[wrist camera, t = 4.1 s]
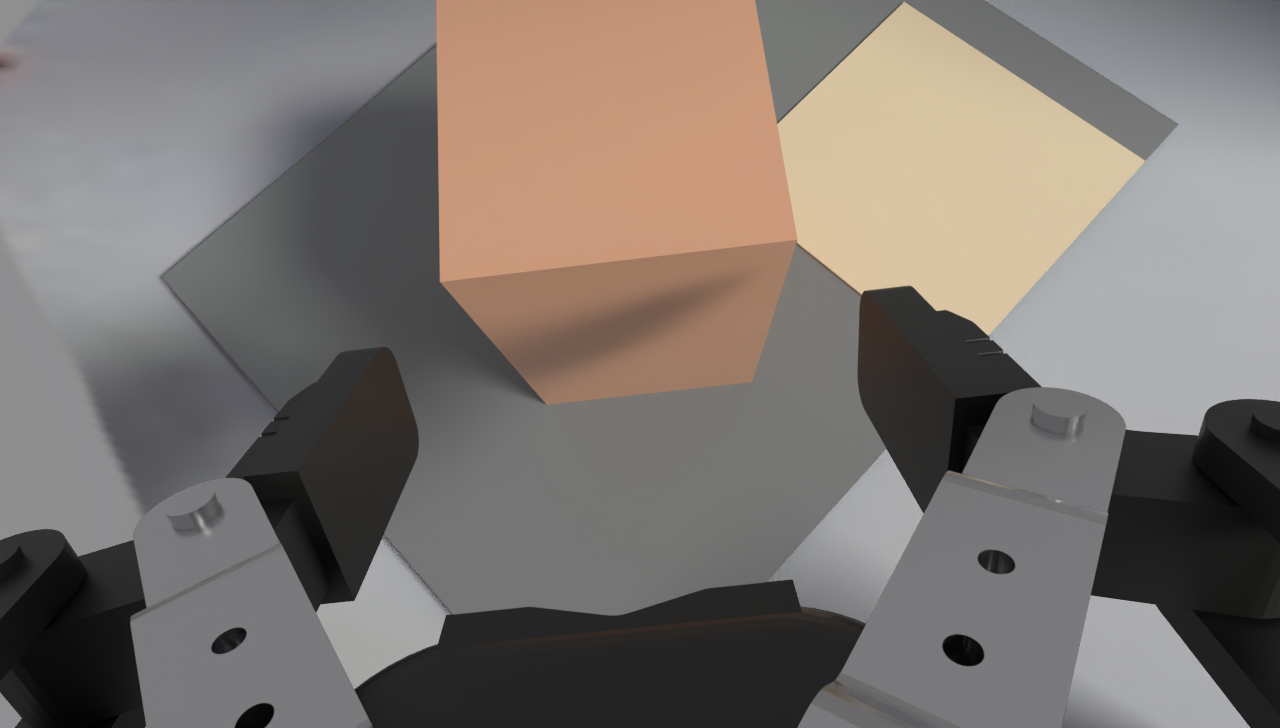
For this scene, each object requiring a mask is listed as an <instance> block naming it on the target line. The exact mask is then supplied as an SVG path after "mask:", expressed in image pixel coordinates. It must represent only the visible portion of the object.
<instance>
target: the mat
mask: <svg viewBox="0 0 1280 728" xmlns="http://www.w3.org/2000/svg"><path fill="white" fill-rule="evenodd" d="M755 3H756V8H757V14H758V20H759V25H760V31H761V36H762V42H763V48H764V53H765V59H766V65H767V70H768V76H769V81H770V87H771V93H772V98H773V104H774V110H775V115H776V121H777V126H778V132H779V138H780V143H781V149H782V155H783V160H784V166H785V172H786V177H787V183H788V188H789V194H790V200H791V205H792V211H793V217H794V222H795V228H796V233H797V239H798V240H797V243H796V246H795V249H794V253H793V256H792V259H791V262H790V265H789V268H788V271H787V274H786V277H785V281H784V284H783V287H782V290H781V293H780V296H779V299H778V302H777V306H776V309H775V312H774V315H773V318H772V321H771V324H770V327H769V331H768V334H767V337H766V340H765V343H764V346H763V349H762V352H761V356H760V359H759V362H758V365H757V368H756V371H755V374H754V377H753V381H752V382H749V383H740V384H731V385H722V386H713V387H704V388H695V389H686V390H677V391H667V392H658V393H649V394H640V395H631V396H622V397H613V398H604V399H595V400H586V401H577V402H568V403H559V404H550V405H547V404H546V403H545V402H544V401H543V400H542V399H541V398H540V396H539V395H538V394H537V393H536V392H535V391H534V389H533V388H532V387H531V386H530V385H529V384H528V383H527V381H526V380H525V379H524V378H523V377H522V376H521V375H520V373H519V372H518V371H517V370H516V369H515V368H514V366H513V365H512V364H511V363H510V362H509V361H508V360H507V358H506V357H505V356H504V355H503V354H502V353H501V352H500V350H499V349H498V348H497V347H496V346H495V345H494V343H493V342H492V341H491V340H490V339H489V338H488V337H487V335H486V334H485V333H484V332H483V331H482V330H481V329H480V327H479V326H478V325H477V324H476V323H475V322H474V320H473V319H472V318H471V317H470V316H469V315H468V314H467V312H466V311H465V310H464V309H463V308H462V307H461V306H460V304H459V303H458V302H457V301H456V300H455V299H454V297H453V296H452V295H451V294H450V293H449V292H448V291H447V289H446V288H445V287H444V286H443V285H442V284H441V283H440V247H439V174H438V101H437V46H435V47H434V48H433V49H432V50H431V51H429V52H428V53H427V54H426V55H425V56H423V57H422V58H421V59H420V60H419V61H418V62H416V63H415V64H414V65H413V66H412V67H410V68H409V69H408V70H407V71H406V72H404V73H403V74H402V75H401V76H400V77H399V78H397V79H396V80H395V81H394V82H393V83H391V84H390V85H389V86H388V87H387V88H385V89H384V90H383V91H382V92H381V93H380V94H378V95H377V96H376V97H375V98H374V99H372V100H371V101H370V102H369V103H368V104H366V105H365V106H364V107H363V108H362V109H361V110H359V111H358V112H357V113H356V114H355V115H353V116H352V117H351V118H350V119H349V120H347V121H346V122H345V123H344V124H343V125H342V126H340V127H339V128H338V129H337V130H336V131H334V132H333V133H332V134H331V135H330V136H328V137H327V138H326V139H325V140H324V141H323V142H321V143H320V144H319V145H318V146H317V147H315V148H314V149H313V150H312V151H311V152H309V153H308V154H307V155H306V156H305V157H304V158H302V159H301V160H300V161H299V162H298V163H296V164H295V165H294V166H293V167H292V168H290V169H289V170H288V171H287V172H286V173H285V174H283V175H282V176H281V177H280V178H279V179H277V180H276V181H275V182H274V183H273V184H271V185H270V186H269V187H268V188H267V189H266V190H264V191H263V192H262V193H261V194H260V195H258V196H257V197H256V198H255V199H254V200H252V201H251V202H250V203H249V204H248V205H247V206H245V207H244V208H243V209H242V210H241V211H239V212H238V213H237V214H236V215H235V216H233V217H232V218H231V219H230V220H229V221H228V222H226V223H225V224H224V225H223V226H222V227H220V228H219V229H218V230H217V231H216V232H215V233H213V234H212V235H211V236H210V237H209V238H207V239H206V240H205V241H204V242H203V243H201V244H200V245H199V246H198V247H197V248H196V249H194V250H193V251H192V252H191V253H190V254H188V255H187V256H186V257H185V258H184V259H182V260H181V261H180V262H179V263H178V264H177V265H175V266H174V267H173V268H172V269H171V270H169V271H168V272H167V273H166V274H165V275H163V276H162V278H163V279H164V281H165V282H166V283H167V284H168V285H169V286H170V287H171V289H172V290H173V291H174V292H175V293H176V294H177V296H178V297H179V298H180V299H181V300H182V301H183V302H184V304H185V305H186V306H187V307H188V308H189V309H190V311H191V312H192V313H193V314H194V315H195V316H196V318H197V319H198V320H199V321H200V322H201V323H202V324H203V326H204V327H205V328H206V329H207V330H208V331H209V333H210V334H211V335H212V336H213V337H214V338H215V340H216V341H217V342H218V343H219V344H220V345H221V346H222V348H223V349H224V350H225V351H226V352H227V353H228V355H229V356H230V357H231V358H232V359H233V360H234V361H235V363H236V364H237V365H238V366H239V367H240V368H241V370H242V371H243V372H244V373H245V374H246V375H247V377H248V378H249V379H250V380H251V381H252V382H253V383H254V385H255V386H256V387H257V388H258V389H259V390H260V392H261V393H262V394H263V395H264V396H265V397H266V399H267V400H268V401H269V402H270V403H271V404H272V405H273V407H274V408H275V409H276V410H277V411H278V412H279V411H280V410H281V409H282V408H283V407H284V405H285V404H286V403H287V402H288V400H289V399H291V398H292V397H294V396H295V395H297V394H298V393H300V392H301V391H302V390H304V389H305V388H307V387H308V386H310V385H311V384H313V383H315V382H317V381H318V380H319V378H320V377H321V376H322V375H323V373H324V372H325V371H326V369H327V368H328V367H329V366H330V364H331V363H332V362H333V360H334V359H335V358H336V357H337V355H338V354H339V353H340V352H343V351H351V350H360V349H368V348H376V347H387V348H389V349H390V350H391V351H392V353H393V355H394V357H395V359H396V362H397V365H398V368H399V371H400V374H401V377H402V380H403V383H404V386H405V389H406V392H407V396H408V399H409V402H410V405H411V408H412V411H413V414H414V417H415V420H416V424H417V428H418V434H419V450H418V456H417V459H416V462H415V464H414V466H413V468H412V471H411V473H410V475H409V478H408V480H407V482H406V484H405V487H404V489H403V491H402V493H401V496H400V498H399V500H398V503H397V505H396V507H395V509H394V512H393V514H392V516H391V519H390V521H389V523H388V525H387V528H386V530H385V532H384V535H385V536H386V537H387V539H388V540H389V541H390V542H391V543H392V544H393V545H394V547H395V548H396V549H397V550H398V551H399V552H400V554H401V555H402V556H403V557H404V558H405V559H406V561H407V562H408V563H409V564H410V565H411V566H412V567H413V569H414V570H415V571H416V572H417V573H418V574H419V576H420V577H421V578H422V579H423V580H424V581H425V583H426V584H427V585H428V586H429V587H430V588H431V589H432V591H433V592H434V593H435V594H436V595H437V596H438V598H439V599H440V600H441V601H442V602H443V603H444V604H445V606H446V607H447V608H448V609H449V610H450V611H451V613H452V614H453V615H454V614H463V613H473V612H483V611H492V610H502V609H512V608H522V607H538V608H547V609H556V610H565V611H574V612H583V613H592V614H600V615H612V616H615V615H623V614H627V613H630V612H633V611H636V610H640V609H643V608H646V607H649V606H652V605H655V604H659V603H662V602H665V601H668V600H671V599H674V598H678V597H681V596H684V595H687V594H690V593H693V592H697V591H700V590H703V589H706V588H716V587H725V586H735V585H745V584H755V583H764V582H767V580H768V579H769V578H770V577H771V576H772V575H773V574H774V573H775V572H776V570H777V569H778V568H779V567H780V566H781V565H782V564H783V563H784V562H785V561H786V559H787V558H788V557H789V556H790V555H791V554H792V553H793V552H794V551H795V549H796V548H797V547H798V546H799V545H800V544H801V543H802V542H803V541H804V539H805V538H806V537H807V536H808V535H809V534H810V533H811V532H812V531H813V529H814V528H815V527H816V526H817V525H818V524H819V523H820V522H821V521H822V519H823V518H824V517H825V516H826V515H827V514H828V513H829V512H830V511H831V509H832V508H833V507H834V506H835V505H836V504H837V503H838V502H839V501H840V499H841V498H842V497H843V496H844V495H845V494H846V493H847V492H848V491H849V489H850V488H851V487H852V486H853V485H854V484H855V483H856V482H857V481H858V479H859V478H860V477H861V476H862V475H863V474H864V473H865V472H866V471H867V469H868V468H869V467H870V466H871V465H872V464H873V463H874V462H875V461H876V459H877V458H878V457H879V456H880V455H881V454H882V453H883V452H884V451H885V449H886V447H885V445H884V443H883V442H882V440H881V438H880V436H879V435H878V433H877V431H876V429H875V428H874V426H873V424H872V422H871V421H870V419H869V417H868V415H867V414H866V412H865V410H864V408H863V405H862V402H861V398H860V394H859V388H858V377H857V371H858V339H859V308H860V299H861V296H862V293H863V292H864V291H867V290H875V289H883V288H892V287H900V286H909V285H910V286H912V287H913V288H914V289H915V290H916V291H917V292H918V293H919V294H920V295H921V296H922V297H923V298H924V299H925V300H926V301H927V302H928V303H929V304H930V305H931V306H932V307H933V308H934V309H935V310H936V311H941V310H948V311H950V312H952V313H955V314H957V315H959V316H961V317H964V318H966V319H968V320H970V321H973V322H974V323H975V324H976V325H977V326H978V327H979V328H980V329H981V330H982V331H984V332H985V333H986V334H987V335H989V334H990V333H991V332H992V331H993V330H994V329H995V328H996V327H997V325H998V324H999V323H1000V322H1001V321H1002V320H1003V319H1004V318H1005V317H1006V315H1007V314H1008V313H1009V312H1010V311H1011V310H1012V309H1013V308H1014V307H1015V305H1016V304H1017V303H1018V302H1019V301H1020V300H1021V299H1022V298H1023V297H1024V295H1025V294H1026V293H1027V292H1028V291H1029V290H1030V289H1031V288H1032V287H1033V286H1034V284H1035V283H1036V282H1037V281H1038V280H1039V279H1040V278H1041V277H1042V276H1043V274H1044V273H1045V272H1046V271H1047V270H1048V269H1049V268H1050V267H1051V266H1052V264H1053V263H1054V262H1055V261H1056V260H1057V259H1058V258H1059V257H1060V256H1061V254H1062V253H1063V252H1064V251H1065V250H1066V249H1067V248H1068V247H1069V246H1070V244H1071V243H1072V242H1073V241H1074V240H1075V239H1076V238H1077V237H1078V236H1079V234H1080V233H1081V232H1082V231H1083V230H1084V229H1085V228H1086V227H1087V226H1088V224H1089V223H1090V222H1091V221H1092V220H1093V219H1094V218H1095V217H1096V216H1097V214H1098V213H1099V212H1100V211H1101V210H1102V209H1103V208H1104V207H1105V206H1106V204H1107V203H1108V202H1109V201H1110V200H1111V199H1112V198H1113V197H1114V196H1115V194H1116V193H1117V192H1118V191H1119V190H1120V189H1121V188H1122V187H1123V186H1124V184H1125V183H1126V182H1127V181H1128V180H1129V179H1130V178H1131V177H1132V176H1133V174H1134V173H1135V172H1136V171H1137V170H1138V169H1139V168H1140V167H1141V166H1142V164H1143V163H1144V162H1145V161H1146V160H1147V159H1148V157H1149V156H1150V155H1151V154H1152V153H1153V152H1154V151H1155V150H1156V149H1157V147H1158V146H1159V145H1160V144H1161V143H1162V142H1163V141H1164V140H1165V139H1166V137H1167V136H1168V135H1169V134H1170V133H1171V132H1172V131H1173V130H1174V129H1175V127H1176V126H1177V125H1178V124H1177V123H1176V122H1174V121H1173V120H1171V119H1170V118H1168V117H1166V116H1165V115H1163V114H1162V113H1160V112H1159V111H1157V110H1155V109H1154V108H1152V107H1151V106H1149V105H1148V104H1146V103H1144V102H1143V101H1141V100H1140V99H1138V98H1137V97H1135V96H1133V95H1132V94H1130V93H1129V92H1127V91H1126V90H1124V89H1122V88H1121V87H1119V86H1118V85H1116V84H1115V83H1113V82H1111V81H1110V80H1108V79H1107V78H1105V77H1104V76H1102V75H1100V74H1099V73H1097V72H1096V71H1094V70H1093V69H1091V68H1089V67H1088V66H1086V65H1085V64H1083V63H1082V62H1080V61H1078V60H1077V59H1075V58H1074V57H1072V56H1071V55H1069V54H1067V53H1066V52H1064V51H1063V50H1061V49H1060V48H1058V47H1056V46H1055V45H1053V44H1052V43H1050V42H1049V41H1047V40H1046V39H1044V38H1042V37H1041V36H1039V35H1038V34H1036V33H1035V32H1033V31H1031V30H1030V29H1028V28H1027V27H1025V26H1024V25H1022V24H1020V23H1019V22H1017V21H1016V20H1014V19H1013V18H1011V17H1009V16H1008V15H1006V14H1005V13H1003V12H1002V11H1000V10H998V9H997V8H995V7H994V6H992V5H991V4H989V3H987V2H986V1H984V0H755Z"/></svg>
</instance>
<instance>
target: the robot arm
mask: <svg viewBox="0 0 1280 728" xmlns="http://www.w3.org/2000/svg"><path fill="white" fill-rule="evenodd" d="M857 377H858V388H859V394H860V398H861V402H862V405H863V408H864V410H865V412H866V414H867V415H868V417H869V419H870V421H871V422H872V424H873V426H874V428H875V429H876V431H877V433H878V435H879V436H880V438H881V440H882V442H883V443H884V445H885V447H886V449H887V450H888V452H889V454H890V456H891V457H892V459H893V461H894V463H895V464H896V466H897V468H898V470H899V471H900V473H901V475H902V477H903V478H904V480H905V482H906V484H907V485H908V487H909V489H910V491H911V492H912V494H913V496H914V498H915V499H916V501H917V503H918V504H919V506H920V508H921V510H922V511H923V513H924V515H923V516H922V518H921V520H920V522H919V524H918V526H917V528H916V530H915V532H914V534H913V536H912V537H911V539H910V541H909V543H908V545H907V547H906V549H905V551H904V553H903V555H902V557H901V559H900V560H899V562H898V564H897V566H896V568H895V570H894V572H893V574H892V576H891V578H890V580H889V581H888V583H887V585H886V587H885V589H884V591H883V593H882V595H881V597H880V599H879V601H878V602H877V604H876V606H875V608H874V610H873V612H872V614H871V616H870V618H869V620H868V622H867V624H865V623H863V622H861V621H858V620H856V619H853V618H850V617H847V616H843V615H840V614H837V613H834V612H829V611H824V610H819V609H815V608H807V607H800V604H799V600H798V597H797V593H796V590H795V586H794V583H793V580H784V581H774V582H764V583H755V584H745V585H735V586H725V587H716V588H706V589H703V590H700V591H697V592H693V593H690V594H687V595H684V596H681V597H678V598H674V599H671V600H668V601H665V602H662V603H659V604H655V605H652V606H649V607H646V608H643V609H640V610H636V611H633V612H630V613H627V614H623V615H615V616H612V615H600V614H592V613H583V612H574V611H565V610H556V609H547V608H538V607H522V608H512V609H502V610H492V611H483V612H473V613H463V614H454V615H446V618H445V621H444V625H443V628H442V632H441V635H440V639H439V643H438V644H437V645H434V646H431V647H428V648H425V649H423V650H421V651H418V652H416V653H413V654H411V655H409V656H407V657H405V658H403V659H401V660H399V661H397V662H395V663H393V664H391V665H390V666H388V667H386V668H385V669H383V670H381V671H380V672H378V673H377V674H375V675H374V676H372V677H370V678H369V679H368V680H366V681H365V682H364V683H362V684H361V685H360V686H358V687H357V688H356V689H354V688H353V686H352V684H351V682H350V680H349V678H348V676H347V674H346V672H345V670H344V668H343V666H342V664H341V662H340V660H339V658H338V656H337V654H336V652H335V650H334V648H333V646H332V644H331V642H330V640H329V638H328V636H327V634H326V632H325V630H324V628H323V626H322V624H321V622H320V620H319V618H318V616H317V614H316V612H317V610H318V608H319V606H320V604H327V603H337V602H346V601H355V598H356V596H357V594H358V591H359V589H360V587H361V585H362V582H363V580H364V578H365V575H366V573H367V571H368V569H369V566H370V564H371V562H372V560H373V557H374V555H375V553H376V550H377V548H378V546H379V544H380V541H381V539H382V537H383V534H384V532H385V530H386V528H387V525H388V523H389V521H390V519H391V516H392V514H393V512H394V509H395V507H396V505H397V503H398V500H399V498H400V496H401V493H402V491H403V489H404V487H405V484H406V482H407V480H408V478H409V475H410V473H411V471H412V468H413V466H414V464H415V462H416V459H417V456H418V450H419V434H418V428H417V424H416V420H415V417H414V414H413V411H412V408H411V405H410V402H409V399H408V396H407V392H406V389H405V386H404V383H403V380H402V377H401V374H400V371H399V368H398V365H397V362H396V359H395V357H394V355H393V353H392V351H391V350H390V349H389V348H387V347H376V348H368V349H360V350H351V351H343V352H340V353H339V354H338V355H337V357H336V358H335V359H334V360H333V362H332V363H331V364H330V366H329V367H328V368H327V369H326V371H325V372H324V373H323V375H322V376H321V377H320V378H319V380H318V381H317V382H315V383H313V384H311V385H310V386H308V387H307V388H305V389H304V390H302V391H301V392H300V393H298V394H297V395H295V396H294V397H292V398H291V399H289V400H288V402H287V403H286V404H285V405H284V407H283V408H282V409H281V410H280V411H279V413H278V414H277V415H276V416H275V418H274V422H271V423H270V424H269V425H268V426H267V427H266V429H265V430H264V431H263V432H262V437H258V439H257V440H256V441H255V442H254V443H253V445H252V446H251V447H250V448H249V450H248V451H247V452H246V453H245V455H244V456H243V457H242V458H241V459H240V461H239V462H238V463H237V464H236V466H235V467H234V468H233V469H232V471H231V472H230V473H229V474H228V475H227V477H226V478H221V479H215V480H210V481H206V482H203V483H199V484H196V485H194V486H191V487H188V488H186V489H184V490H182V491H180V492H177V493H176V494H174V495H172V496H170V497H168V498H167V499H165V500H164V501H162V502H160V503H159V504H158V505H156V506H155V507H154V508H152V509H151V510H150V511H149V512H148V513H147V514H146V515H145V516H144V517H143V518H142V519H141V520H140V521H139V523H138V525H137V526H136V528H135V531H134V533H133V534H134V536H133V538H134V540H132V541H129V542H126V543H122V544H119V545H116V546H112V547H109V548H106V549H102V550H99V551H96V552H92V553H89V554H86V555H83V556H79V557H78V556H77V555H76V553H75V552H74V550H73V549H72V547H71V546H70V544H69V543H68V542H67V540H66V538H65V537H64V535H63V534H62V533H61V532H59V531H56V530H49V529H42V530H34V531H29V532H24V533H21V534H17V535H14V536H11V537H8V538H5V539H3V540H0V692H1V694H2V695H3V696H4V697H5V698H6V700H7V701H8V702H9V703H10V704H11V705H12V707H13V708H14V709H15V710H16V711H17V713H18V714H19V715H20V716H21V717H22V719H21V721H20V722H19V723H18V724H17V726H16V727H15V728H145V727H147V728H1061V727H1062V723H1063V718H1064V713H1065V709H1066V704H1067V700H1068V695H1069V691H1070V686H1071V682H1072V677H1073V673H1074V668H1075V664H1076V659H1077V654H1078V650H1079V645H1080V641H1081V636H1082V632H1083V627H1084V623H1085V618H1086V614H1087V609H1088V605H1089V600H1090V595H1093V596H1100V597H1107V598H1114V599H1121V600H1128V601H1135V602H1142V603H1149V604H1156V606H1157V607H1158V609H1159V610H1160V612H1161V613H1162V614H1163V616H1164V617H1165V618H1166V619H1167V621H1168V622H1169V623H1170V625H1171V626H1172V627H1173V628H1174V630H1175V631H1176V632H1177V634H1178V635H1179V636H1180V637H1181V639H1182V640H1183V641H1184V643H1185V644H1186V645H1187V646H1188V648H1189V649H1190V650H1191V652H1192V653H1193V654H1194V655H1195V657H1196V658H1197V659H1198V661H1199V662H1200V663H1201V664H1202V666H1203V667H1204V668H1205V670H1206V671H1207V672H1208V674H1209V675H1210V676H1211V677H1212V679H1213V680H1214V681H1215V683H1216V684H1217V685H1218V686H1219V688H1220V689H1221V690H1222V692H1223V693H1224V694H1225V695H1226V697H1227V698H1228V699H1229V701H1230V702H1231V703H1232V704H1233V706H1234V707H1235V708H1236V710H1237V711H1238V712H1239V713H1240V715H1241V716H1242V717H1243V719H1244V720H1245V721H1246V722H1247V724H1248V725H1249V726H1250V728H1280V402H1277V401H1269V400H1257V399H1239V400H1231V401H1225V402H1221V403H1218V404H1216V405H1214V406H1212V407H1211V408H1210V409H1208V410H1207V412H1206V414H1205V416H1204V419H1203V423H1202V426H1201V429H1200V432H1199V436H1196V435H1182V434H1168V433H1154V432H1141V431H1132V430H1126V425H1125V422H1124V419H1123V418H1122V416H1121V415H1120V414H1119V413H1118V412H1117V411H1116V410H1115V409H1114V408H1112V407H1111V406H1109V405H1108V404H1106V403H1104V402H1103V401H1101V400H1099V399H1096V398H1094V397H1091V396H1089V395H1086V394H1083V393H1079V392H1075V391H1071V390H1066V389H1059V388H1048V387H1041V386H1040V385H1039V384H1038V383H1037V382H1036V381H1035V380H1034V379H1033V378H1032V377H1031V376H1030V375H1029V374H1028V373H1027V372H1026V371H1024V370H1023V369H1022V368H1021V367H1020V366H1019V365H1018V364H1017V363H1016V362H1015V361H1014V360H1013V359H1012V358H1011V357H1010V356H1009V355H1008V354H1007V353H1006V354H1003V350H1002V349H1001V348H1000V347H999V346H998V345H997V344H996V343H995V342H994V341H993V340H991V341H990V337H989V336H988V335H987V334H986V333H985V332H984V331H982V330H981V329H980V328H979V327H978V326H977V325H976V324H975V323H974V322H973V321H970V320H968V319H966V318H964V317H961V316H959V315H957V314H955V313H952V312H950V311H948V310H941V311H936V310H935V309H934V308H933V307H932V306H931V305H930V304H929V303H928V302H927V301H926V300H925V299H924V298H923V297H922V296H921V295H920V294H919V293H918V292H917V291H916V290H915V289H914V288H913V287H912V286H910V285H909V286H900V287H892V288H883V289H875V290H867V291H864V292H863V293H862V296H861V299H860V308H859V339H858V371H857Z"/></svg>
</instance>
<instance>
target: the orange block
mask: <svg viewBox="0 0 1280 728" xmlns="http://www.w3.org/2000/svg"><path fill="white" fill-rule="evenodd" d="M436 29H437V101H438V174H439V247H440V283H441V284H442V285H443V286H444V287H445V288H446V289H447V291H448V292H449V293H450V294H451V295H452V296H453V297H454V299H455V300H456V301H457V302H458V303H459V304H460V306H461V307H462V308H463V309H464V310H465V311H466V312H467V314H468V315H469V316H470V317H471V318H472V319H473V320H474V322H475V323H476V324H477V325H478V326H479V327H480V329H481V330H482V331H483V332H484V333H485V334H486V335H487V337H488V338H489V339H490V340H491V341H492V342H493V343H494V345H495V346H496V347H497V348H498V349H499V350H500V352H501V353H502V354H503V355H504V356H505V357H506V358H507V360H508V361H509V362H510V363H511V364H512V365H513V366H514V368H515V369H516V370H517V371H518V372H519V373H520V375H521V376H522V377H523V378H524V379H525V380H526V381H527V383H528V384H529V385H530V386H531V387H532V388H533V389H534V391H535V392H536V393H537V394H538V395H539V396H540V398H541V399H542V400H543V401H544V402H545V403H546V404H547V405H550V404H559V403H568V402H577V401H586V400H595V399H604V398H613V397H622V396H631V395H640V394H649V393H658V392H667V391H677V390H686V389H695V388H704V387H713V386H722V385H731V384H740V383H749V382H752V381H753V377H754V374H755V371H756V368H757V365H758V362H759V359H760V356H761V352H762V349H763V346H764V343H765V340H766V337H767V334H768V331H769V327H770V324H771V321H772V318H773V315H774V312H775V309H776V306H777V302H778V299H779V296H780V293H781V290H782V287H783V284H784V281H785V277H786V274H787V271H788V268H789V265H790V262H791V259H792V256H793V253H794V249H795V246H796V243H797V240H798V239H797V233H796V228H795V222H794V217H793V211H792V205H791V200H790V194H789V188H788V183H787V177H786V172H785V166H784V160H783V155H782V149H781V143H780V138H779V132H778V126H777V121H776V115H775V110H774V104H773V98H772V93H771V87H770V81H769V76H768V70H767V65H766V59H765V53H764V48H763V42H762V36H761V31H760V25H759V20H758V14H757V8H756V3H755V0H436Z"/></svg>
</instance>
